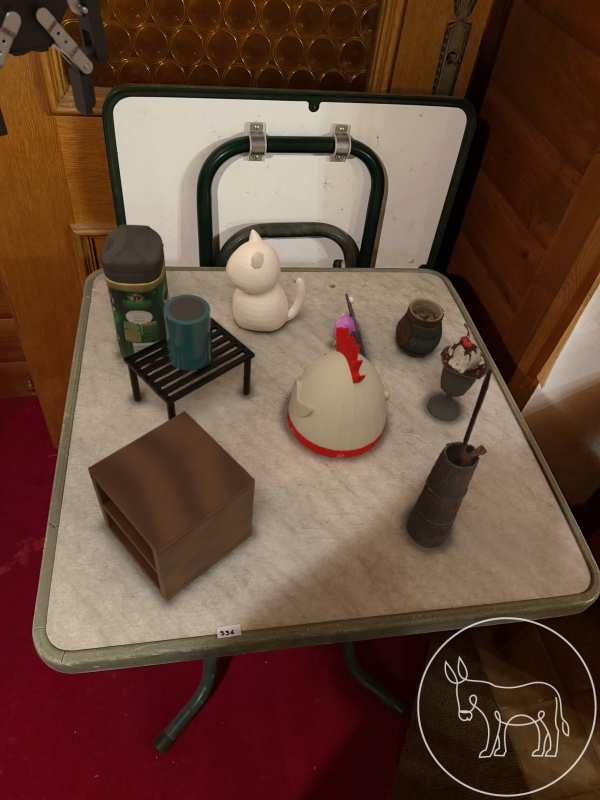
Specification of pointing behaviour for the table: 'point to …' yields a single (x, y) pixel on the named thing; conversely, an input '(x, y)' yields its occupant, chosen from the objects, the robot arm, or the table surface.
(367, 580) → the table surface
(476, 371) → the sundae
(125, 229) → the coffee jar
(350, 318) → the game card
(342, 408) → the kitchen timer
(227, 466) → the shelf
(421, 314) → the mate gourd
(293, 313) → the cat figurine
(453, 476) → the butter churn
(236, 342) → the rack
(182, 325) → the cup
